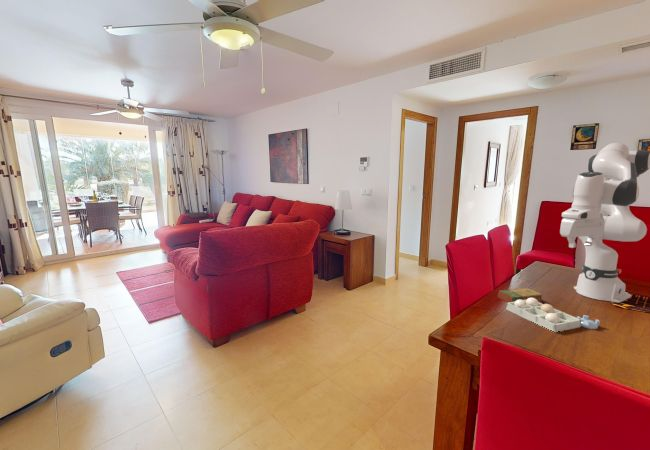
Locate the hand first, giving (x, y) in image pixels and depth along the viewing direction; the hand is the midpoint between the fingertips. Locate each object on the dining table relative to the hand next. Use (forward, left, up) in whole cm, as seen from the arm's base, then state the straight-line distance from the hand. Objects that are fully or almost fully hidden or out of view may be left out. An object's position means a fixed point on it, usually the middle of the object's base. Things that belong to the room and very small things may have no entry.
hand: (580, 246), depth 118 cm
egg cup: (+5, +9, -29) cm, 31 cm away
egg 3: (+13, -1, -28) cm, 31 cm away
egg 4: (+19, +6, -28) cm, 35 cm away
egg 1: (+19, -8, -28) cm, 35 cm away
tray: (+16, -1, -29) cm, 33 cm away
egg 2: (+13, -8, -28) cm, 32 cm away
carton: (+8, -17, -30) cm, 35 cm away
